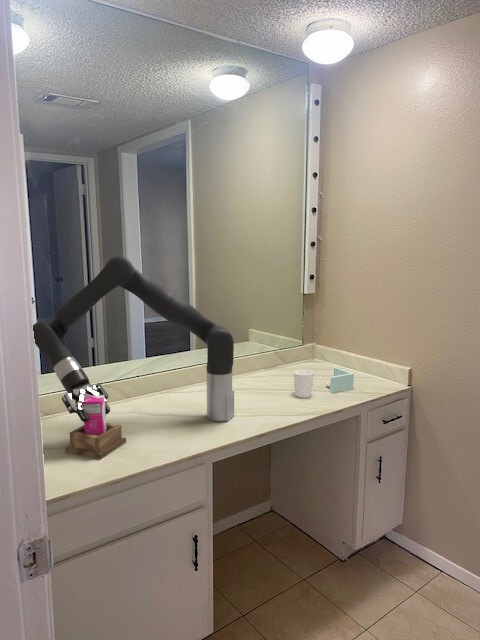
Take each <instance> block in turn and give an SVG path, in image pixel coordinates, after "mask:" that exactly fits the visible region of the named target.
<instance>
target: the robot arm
mask: <svg viewBox="0 0 480 640" xmlns="http://www.w3.org/2000/svg"><path fill="white" fill-rule="evenodd" d="M117 287H120V288H122V289H124V290H126V291H128V292H129V293H132V294H133V295H134V296H136V297H137V298H138V299H140V300H141V301H142V302H143V303H144V304H145V305H146V306H148V307H149V308H150V309H151V310H152V311H154V312H155V313H157V315H159V316H160V317H162V318H163V319H165V320H166V321H168V322H170V323H171V324H173V325H175V326H177V327H180V328H181V329H184V330H186V331H188V332H190V333H192V334H193V335H195V336H196V337H197V338H198V339H200V340H201V341H202V342H203V343H204V344H205V345H207V351H206V352H207V353H206V354H207V357H206V358H207V362H206V363H207V364H206V418H207V420H210V421H213V422H229V421H230V420H231V419H232V418H234V417H235V391H234V390H233V365H234V350H235V345H234V344H235V343H234V338H233V336H232V334H231V332H230V331H229V330H228V328H226V327H224V326H222V325H220V324H219V323H216V322H214V321H212V320H211V319H209V318H208V317H206V316H204V315H203V314H202V313H201V312H199V310H198V309H196V308H195V307H194V306H193V305H191V304H190V303H189V302H188V301H186V300H185V299H184V298H183V297H181V296H180V295H179V294H177V293H175V292H174V291H173V290H170V289H169V288H167V287H165V286H163V285H161V284H160V283H157V282H155V281H153V280H151V279H150V278H148V277H147V276H146V275H144V274H142V272H140V271H139V270H138V269H137V268H136V267H134V266H133V264H132V262H131V261H130V260H129V259H128V258H127V257H124V256H121V255H119V256H118V255H117V256H116V255H115V256H113V257H111V258H110V259H108V260H107V262H106V263H105V266H104V267H103V268H102V269H101V270H100V271H99V272H98V274H97V275H96V276H95V277H94V278H93V279H92V280H91V281H89V283H88V284H87V285H85V286H84V287H83V288H82V289H80V290H79V291H78V292H77V293H76V294H74V295H73V296H71V297H70V298H69V299H68V300H66V301H65V302H64V303H63V304H62V305H61V306H60V307H58V309H56V310H55V312H54V318H53V320H52V321H51V322H50V323H48V322H47V321H38V322H35V323H34V324H33V325H32V326H33V331H34V339H35V343H34V344H35V346H36V347H37V348H38V349H39V350H40V352H41V353H42V354H43V355H44V356H45V357H46V360H47V361H48V363H49V365H50V366H51V367H52V369H53V371H54V373H55V375H56V377H57V379H58V380H59V383H61V385H62V386H63V388H64V389H65V391H66V393H64V395H63V396H62V397H61V401H62V402H63V404H64V406H65V409H66V410H67V411H68V413H69V414H74V413H75V414H77V415H78V417H79V419H80V420H81V422H83V424H84V423H86V422H88V420H89V417H88V415H87V414H86V412H85V411H84V409H83V401H84V399H85V398H87V397H89V396H99V395H104V396H105V410H106V415H108V414H109V413H110V412H111V407H110V406H109V404H108V402H107V400H108V399H109V397H110V396H109V394H108V393H107V391H106V390H105V388H104V387H103V385H102V384H101V383H100V382H96V384H94V385H92V384H91V383H90V379H89V378H88V375H87V374H86V373H85V371H84V370H83V368H82V366H81V365H80V364H79V362H78V361H77V360H76V358H75V357H74V355H73V354H72V353H71V351H70V349H69V348H68V347H67V346H66V345H65V344H63V342H62V339H63V338H65V336H66V335H67V333H68V332H69V330H70V329H71V327H73V326H74V325H75V324H76V323H77V322H78V321H80V320H81V319H82V318H83V317H84V316H85V315H86V314H87V313H88V312H89V311H90V310H91V309H92V308H93V307H95V306H96V305H97V303H98V302H99V301H100V300H101V299H102V298H104V297H105V296H106V295H108V294H109V293H110V292H112V291H113V290H114V289H116V288H117ZM73 400H74V401H73Z"/></svg>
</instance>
